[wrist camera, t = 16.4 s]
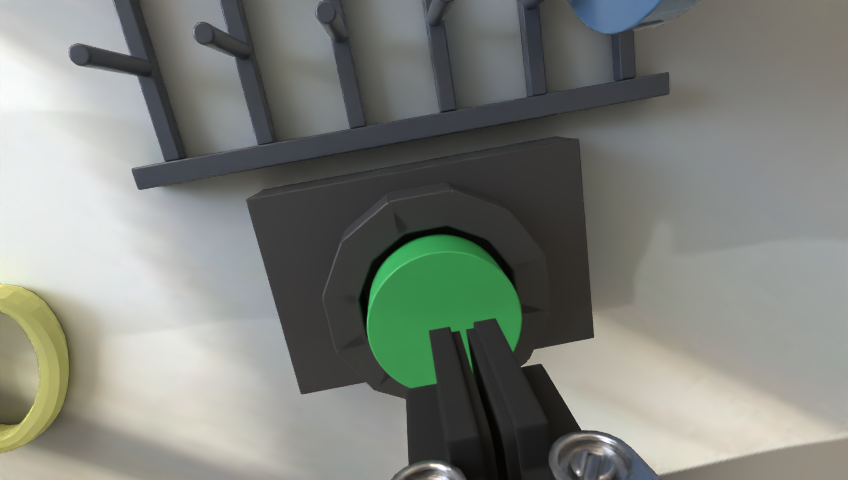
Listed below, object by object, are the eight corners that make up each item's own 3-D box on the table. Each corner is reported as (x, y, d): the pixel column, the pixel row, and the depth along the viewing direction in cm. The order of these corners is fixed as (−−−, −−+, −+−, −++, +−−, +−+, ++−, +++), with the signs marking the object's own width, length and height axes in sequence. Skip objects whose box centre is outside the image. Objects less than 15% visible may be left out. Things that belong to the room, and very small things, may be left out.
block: (312, 372, 20) (293, 432, 16) (262, 189, 18) (227, 209, 14) (573, 322, 20) (616, 369, 17) (557, 136, 18) (602, 141, 14)
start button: (384, 373, 16) (383, 408, 14) (356, 248, 15) (351, 267, 13) (513, 348, 16) (530, 379, 14) (496, 221, 15) (512, 237, 13)
